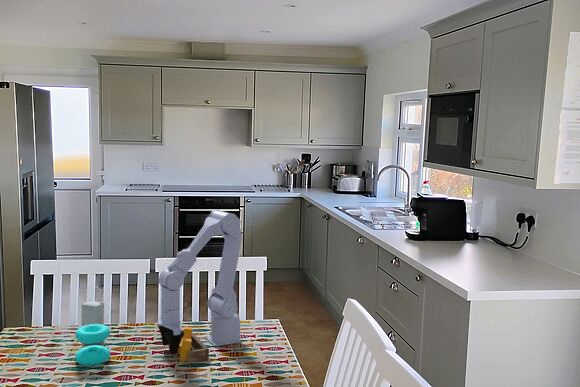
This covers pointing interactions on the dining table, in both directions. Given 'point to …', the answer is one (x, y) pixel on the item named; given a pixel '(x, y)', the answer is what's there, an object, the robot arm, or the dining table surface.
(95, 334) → the donuts
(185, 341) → the pipe clamp
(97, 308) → the skincare box
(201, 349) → the bracket
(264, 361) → the dining table surface
